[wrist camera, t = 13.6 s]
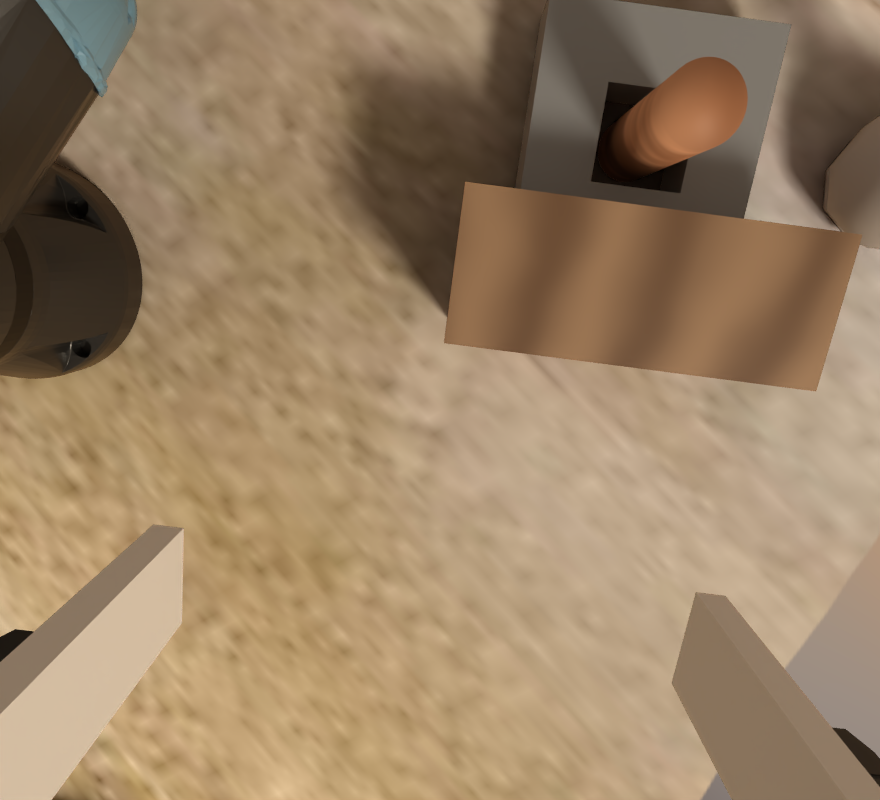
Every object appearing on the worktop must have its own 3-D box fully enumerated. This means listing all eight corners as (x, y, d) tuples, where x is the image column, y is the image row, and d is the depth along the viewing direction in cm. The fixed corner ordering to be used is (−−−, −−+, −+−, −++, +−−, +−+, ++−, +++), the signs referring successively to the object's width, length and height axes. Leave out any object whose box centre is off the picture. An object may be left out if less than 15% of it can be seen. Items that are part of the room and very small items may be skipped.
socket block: (506, 244, 40) (512, 242, 36) (540, 19, 37) (550, -9, 33) (703, 270, 40) (730, 271, 36) (755, 48, 37) (791, 24, 33)
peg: (592, 177, 39) (652, 144, 27) (604, 114, 38) (671, 51, 26) (650, 185, 39) (735, 155, 27) (663, 122, 38) (757, 62, 26)
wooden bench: (445, 322, 41) (444, 342, 32) (461, 200, 39) (465, 181, 30) (731, 359, 42) (816, 391, 32) (762, 240, 40) (862, 234, 30)
